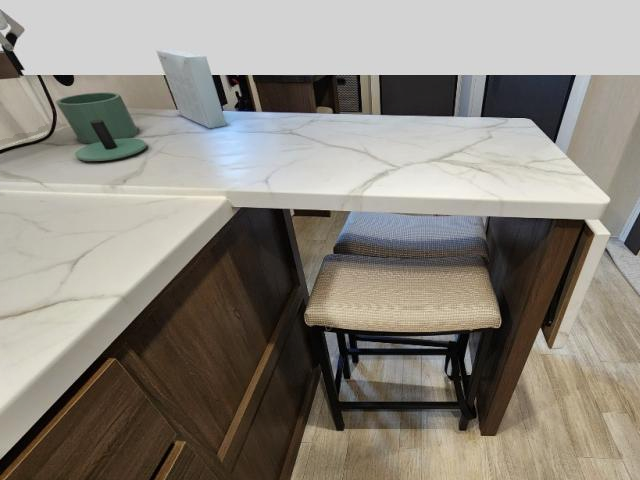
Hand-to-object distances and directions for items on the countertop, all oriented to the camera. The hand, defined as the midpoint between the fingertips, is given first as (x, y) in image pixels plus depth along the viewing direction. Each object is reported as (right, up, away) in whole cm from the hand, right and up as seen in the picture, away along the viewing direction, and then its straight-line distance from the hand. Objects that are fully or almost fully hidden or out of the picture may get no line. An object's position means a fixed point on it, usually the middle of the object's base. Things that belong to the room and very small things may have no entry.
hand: (4, 75), depth 65 cm
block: (0, 0, 0) cm, 0 cm away
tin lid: (+12, -10, +11) cm, 19 cm away
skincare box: (+21, +8, +31) cm, 38 cm away
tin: (+3, -2, +20) cm, 20 cm away
